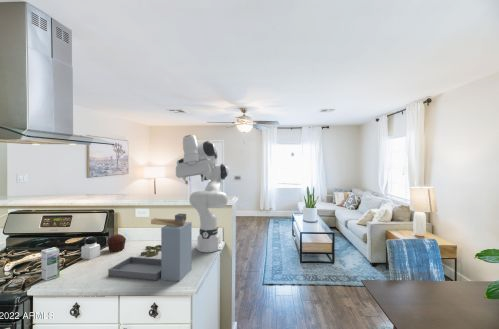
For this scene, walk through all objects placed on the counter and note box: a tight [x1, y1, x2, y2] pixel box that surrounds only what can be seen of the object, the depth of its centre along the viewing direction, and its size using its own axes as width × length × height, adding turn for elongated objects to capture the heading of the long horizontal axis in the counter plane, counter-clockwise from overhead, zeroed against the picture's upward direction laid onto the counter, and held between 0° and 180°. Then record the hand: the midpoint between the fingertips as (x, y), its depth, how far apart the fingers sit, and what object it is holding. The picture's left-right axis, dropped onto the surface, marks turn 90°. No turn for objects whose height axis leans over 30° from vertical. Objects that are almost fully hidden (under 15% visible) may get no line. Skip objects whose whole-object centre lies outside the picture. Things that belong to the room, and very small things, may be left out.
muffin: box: [106, 233, 127, 253], centre depth 170 cm, size 12×11×10 cm
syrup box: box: [40, 246, 61, 282], centre depth 130 cm, size 6×6×14 cm
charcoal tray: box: [107, 256, 161, 282], centre depth 138 cm, size 18×27×4 cm, turn 79°
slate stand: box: [160, 221, 193, 282], centre depth 134 cm, size 14×10×26 cm
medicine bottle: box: [80, 236, 101, 260], centre depth 158 cm, size 7×7×12 cm
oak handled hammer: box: [150, 213, 187, 226], centre depth 135 cm, size 5×18×6 cm, turn 79°
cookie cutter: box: [140, 244, 161, 258], centre depth 168 cm, size 18×12×2 cm, turn 7°
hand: (194, 182), depth 150 cm, fingers open, 8 cm apart
